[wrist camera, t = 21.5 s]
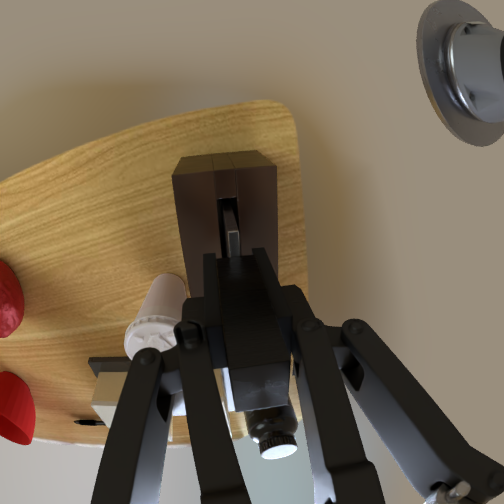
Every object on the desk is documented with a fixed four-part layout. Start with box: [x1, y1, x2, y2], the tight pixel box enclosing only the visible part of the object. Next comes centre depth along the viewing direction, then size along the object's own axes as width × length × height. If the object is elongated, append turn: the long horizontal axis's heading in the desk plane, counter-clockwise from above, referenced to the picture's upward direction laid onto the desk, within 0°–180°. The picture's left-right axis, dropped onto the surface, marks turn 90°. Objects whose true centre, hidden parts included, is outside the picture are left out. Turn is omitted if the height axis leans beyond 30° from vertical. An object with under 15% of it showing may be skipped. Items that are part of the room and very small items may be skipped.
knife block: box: [172, 150, 278, 298], centre depth 25 cm, size 7×11×8 cm, turn 3°
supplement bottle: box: [244, 394, 298, 459], centre depth 36 cm, size 7×7×12 cm
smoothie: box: [124, 273, 187, 360], centre depth 25 cm, size 6×6×14 cm
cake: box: [91, 372, 173, 441], centre depth 35 cm, size 9×10×6 cm
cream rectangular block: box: [214, 369, 232, 437], centre depth 36 cm, size 4×10×6 cm, turn 3°
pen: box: [74, 420, 106, 426], centre depth 41 cm, size 14×2×1 cm, turn 97°
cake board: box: [88, 357, 235, 416], centre depth 39 cm, size 20×14×1 cm
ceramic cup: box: [0, 371, 36, 445], centre depth 31 cm, size 13×17×10 cm
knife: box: [216, 198, 291, 412], centre depth 18 cm, size 2×6×18 cm, turn 2°
